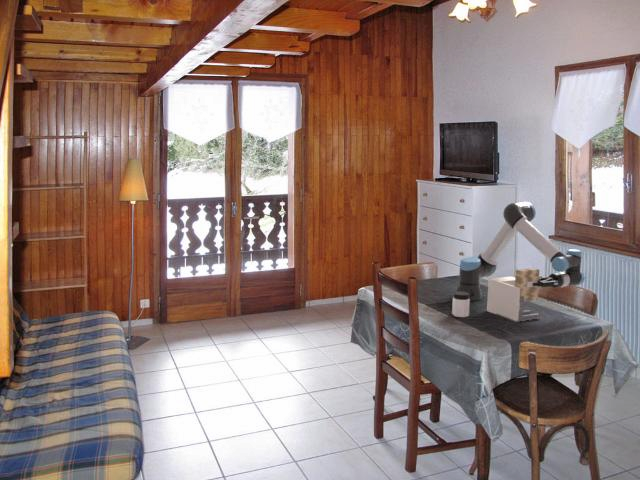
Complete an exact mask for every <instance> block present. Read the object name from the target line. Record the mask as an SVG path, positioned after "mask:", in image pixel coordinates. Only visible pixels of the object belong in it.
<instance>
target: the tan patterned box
mask: <svg viewBox="0 0 640 480" xmlns="http://www.w3.org/2000/svg"><path fill="white" fill-rule="evenodd" d="M539 276H540V269H538V268H534V267H533V268H524V269H515V286H516V287H519V288H520V297H522V296H523V297H524V302H530V301H538V298H539V296H538V295H539V286H536V287H526V286H527V282H532V281H538V280H539ZM537 283H538V282H537Z"/></svg>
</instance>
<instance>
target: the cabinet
mask: <svg viewBox="0 0 640 480" xmlns="http://www.w3.org/2000/svg"><path fill="white" fill-rule="evenodd" d="M486 301H487V303H486V306H487V307H486V312H489V313H491V314H493V315H496V316H498V317H501V318H504V319H506V320H508V321H512V322H514V323H521V322H520V321H522V322H527V321H526V320H529V321H533V320H532V319H537V318H539V319H540V313H532V311H531V310H530V309H529V310H524V309H520V306H521V304H524V303H525V301H524V297H523V296H522V297H520V288H519V287H516V286H515V277H514V276H503V277H502V276H501V277H492V278H488V285H487V300H486ZM537 320H538V319H537Z"/></svg>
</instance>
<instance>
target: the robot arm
mask: <svg viewBox="0 0 640 480" xmlns="http://www.w3.org/2000/svg"><path fill="white" fill-rule="evenodd" d="M534 206H535V205H533V204H532V203H531V202H529V201H520V202H519V201H518V202H512V203H509V204H507V205H506V206H505V208H504V209H503V214H502V215H503V218H504V220H505V223H504V224H503V225H502V226H501V228H500V229H499V231H498V232H497V234H496V235H495V237H493V239H492V240H491V242H490V244H489V245H488V246H487V248H486V250H485V251H481V252H480V253H479V255H478V256H477V257H476V256H475V257H474V256H473V257H472V256H469V257H464V258H461V260H460V262H459V280H458V281H459V282H458V286H457V289H456V291H455V292H458V291H461V292H467V293H469V299H470V301H471V302H472V301H473V302H475V301H480V300H482V297H483V295H482V290H481V286H480V281H481V279H482V278H486V277H490V276H492V275H493V274H494V273H495V272H496V270H497V265H498V263H499V261H498V259H499V258H500V256H502V254H503V253H504V251H505V250H506V248H507V247H508V245H509V244H510V243H511V241H512V240H513V239H514V237H515V236H516V234H517V233H520V234H521V235H522V237H524V238H525V239H526V240H527V241H528V242H529V243H530V244H531V245H532V246H533V247H534V248H535V249H536V250H538V252H540V253H541V254H542V255H543V256H544V257H545V258H546V259H547V260H548V261H549V263H551V268H552V269H553V270H554V271H556V272H557V273H555V272H554V273H550V274H549V276H544V277H542V276H540V275H539V280H538V281H532V282H527V286H526V287H536V286H538V288H539V287H541V288H548V287H549V288H550V287H551V288H553V289H554V288H561V289H562V288H564V287H571V286H572V287H573V286H579V285H582V284H583V283H584V282H585V274H584V272H582V271H581V267H582V266H581V265H582V251H581V250H579V249H571V248H570V249H567V250H566V254H564V253H563V252H562V251H561V250H560V249H559V248H558V247H556V245H554V243H552V242H551V241H550V240H549V239H548V238H547V237H546V236H545V235H543V233H541V231H540V230H538V229H537V228H536V227H535V226H534V225H533V224H532V223H531V222H532V221H533V220H534V219H535V218H536V213H537V212H536V207H534ZM537 282H538V283H537Z"/></svg>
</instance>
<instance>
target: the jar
mask: <svg viewBox="0 0 640 480" xmlns="http://www.w3.org/2000/svg"><path fill="white" fill-rule="evenodd" d="M470 303H471V302H470V299H469V293H467V292H461V291H458V292H456V291H455V292H453V296H452V305H451V306H452V308H451V310H452V311H451V314H452V315H453V316H454V317H456V318H457V317H458V318H467V317H469V316H470Z"/></svg>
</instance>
